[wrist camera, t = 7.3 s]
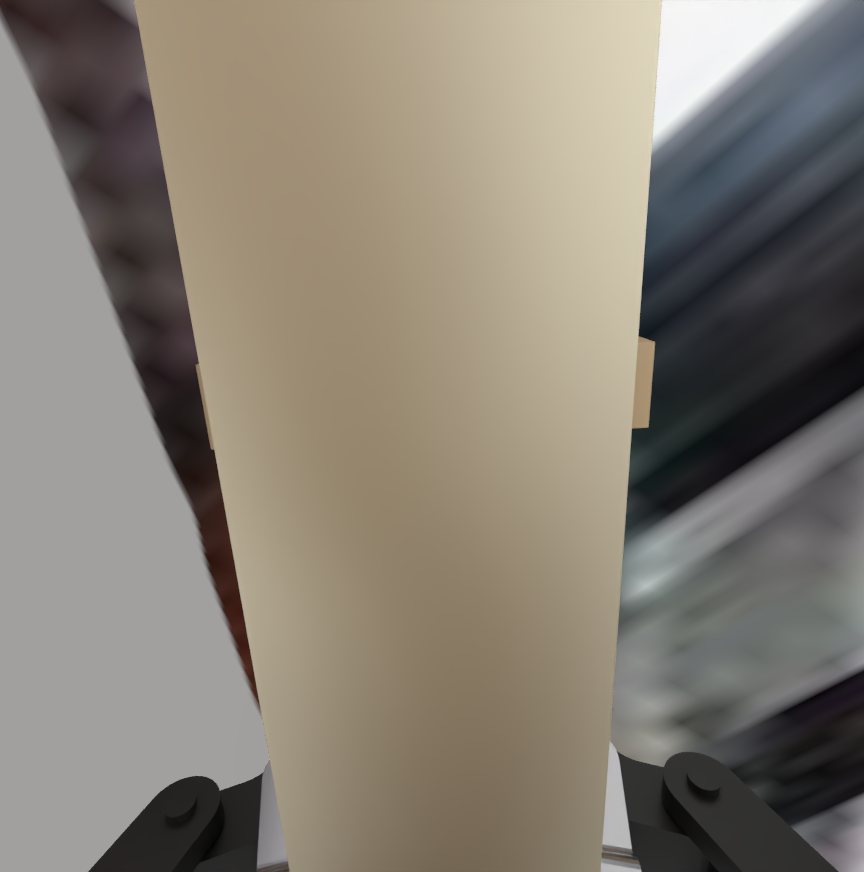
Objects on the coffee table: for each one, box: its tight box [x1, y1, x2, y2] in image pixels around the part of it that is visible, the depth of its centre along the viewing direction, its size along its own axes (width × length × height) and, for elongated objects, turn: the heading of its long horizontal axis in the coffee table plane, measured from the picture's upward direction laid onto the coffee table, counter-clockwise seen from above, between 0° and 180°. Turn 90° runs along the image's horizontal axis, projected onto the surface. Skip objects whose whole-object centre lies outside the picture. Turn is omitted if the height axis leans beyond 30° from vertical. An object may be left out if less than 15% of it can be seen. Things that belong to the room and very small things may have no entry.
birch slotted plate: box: [134, 0, 662, 872], centre depth 10 cm, size 4×14×10 cm, turn 3°
